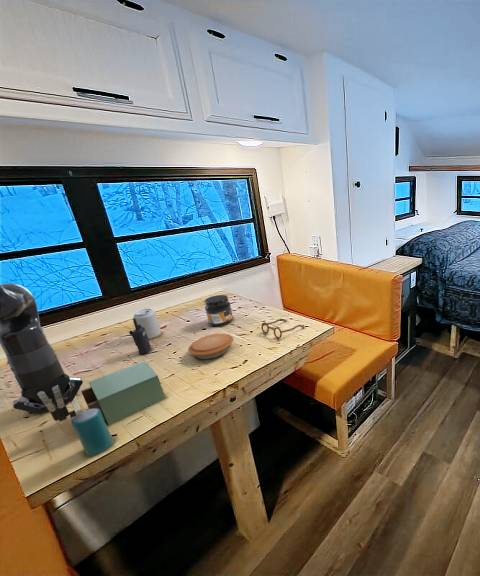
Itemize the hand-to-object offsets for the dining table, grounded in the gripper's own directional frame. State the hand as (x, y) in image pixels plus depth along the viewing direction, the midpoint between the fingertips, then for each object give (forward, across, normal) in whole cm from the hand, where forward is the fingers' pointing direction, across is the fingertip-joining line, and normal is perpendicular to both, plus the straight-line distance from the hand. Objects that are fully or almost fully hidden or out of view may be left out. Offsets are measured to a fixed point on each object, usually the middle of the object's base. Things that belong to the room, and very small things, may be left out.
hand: (62, 418), depth 81 cm
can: (+4, -31, -45) cm, 55 cm away
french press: (+4, +1, -19) cm, 20 cm away
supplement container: (+4, -56, -34) cm, 66 cm away
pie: (+4, -42, -10) cm, 44 cm away
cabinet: (+4, -14, 0) cm, 15 cm away
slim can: (+4, -4, +14) cm, 15 cm away
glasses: (+4, -69, -3) cm, 69 cm away
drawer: (+3, -8, 0) cm, 9 cm away
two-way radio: (+4, -25, -32) cm, 41 cm away
